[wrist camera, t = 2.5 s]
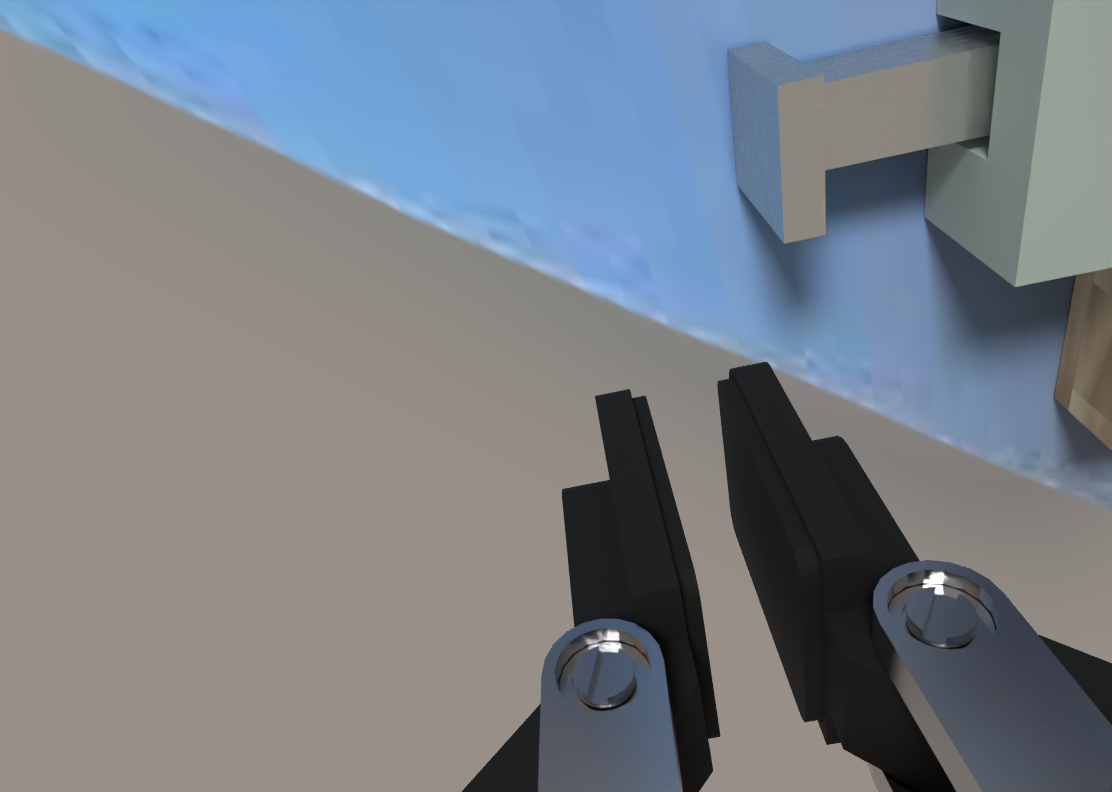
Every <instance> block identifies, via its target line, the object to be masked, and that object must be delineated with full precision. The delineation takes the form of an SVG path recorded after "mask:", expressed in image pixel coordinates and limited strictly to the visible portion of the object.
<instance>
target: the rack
mask: <svg viewBox="0 0 1112 792" xmlns="http://www.w3.org/2000/svg"><path fill="white" fill-rule="evenodd" d="M1054 398H1055V399H1056V400H1057V401H1058V402H1059V403H1060V404H1061V405H1062V406H1064V407H1065V408H1066V409H1067V410H1068V411H1069V412H1070V413H1071V414H1072V415H1073V416H1074V417H1075V418H1077V419H1078V420H1079V421H1080V422H1081V423H1082V424H1083V425H1084V426H1085V427H1086V428H1087V429H1089V430H1090V431H1091V432H1092V433H1093V434H1094V435H1095V436H1096V437H1097V438H1098V439H1099V440H1100V441H1102V442H1103V443H1104V444H1105V445H1106V446H1107V447H1108V448H1109V449H1110V450H1111V451H1112V268H1107V269H1102V270H1097V271H1093V272H1088V273H1083V274H1078V275H1076V279H1075V284H1074V290H1073V295H1072V301H1071V306H1070V312H1069V317H1068V323H1067V328H1066V334H1065V340H1064V345H1063V351H1062V356H1061V362H1060V367H1059V373H1058V378H1057V384H1056V389H1055V395H1054Z"/></svg>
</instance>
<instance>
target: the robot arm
mask: <svg viewBox="0 0 1112 792" xmlns="http://www.w3.org/2000/svg"><path fill="white" fill-rule="evenodd" d="M718 397H719V406H720V416H721V425H722V435H723V444H724V454H725V463H726V472H727V482H728V492H729V500H730V510H731V517H732V522H733V526H734V530H735V534H736V537H737V539H738V542H739V545H740V548H741V550H742V553H743V556H744V559H745V562H746V564H747V567H748V570H749V572H750V576H751V578H752V581H753V584H754V587H755V589H756V592H757V595H758V597H759V601H760V603H761V606H762V609H763V612H764V615H765V617H766V620H767V623H768V626H769V628H770V631H771V634H772V637H773V640H774V642H775V645H776V648H777V651H778V653H779V656H780V659H781V662H782V665H783V667H784V670H785V673H786V676H787V679H788V681H789V684H790V687H791V689H792V692H793V695H794V698H795V701H796V703H797V706H798V709H799V711H800V714H801V717H802V719H803V721H804V722H809V721H815V720H818V723H819V725H820V728H821V731H822V733H823V736H824V739H825V741H826V744H827V745H829V744H835V743H841V744H842V747H843V749H844V750H846V751H848V752H850V753H852V754H853V755H855V756H857V757H859V758H861V759H862V760H864V761H866V762H868V766H869V769H870V772H871V775H872V778H873V781H874V783H875V785H876V787H877V789H878V791H879V792H1112V663H1109V662H1107V661H1104V660H1102V659H1099V658H1097V657H1094V656H1091V655H1089V654H1086V653H1084V652H1081V651H1079V650H1076V649H1073V648H1071V647H1069V646H1066V645H1063V644H1061V643H1058V642H1056V641H1053V640H1051V639H1048V638H1046V637H1043V636H1040V635H1038V634H1037V633H1036V632H1035V631H1034V629H1033V628H1032V627H1031V626H1030V624H1029V623H1028V622H1027V621H1026V620H1025V618H1024V617H1023V616H1022V615H1021V614H1020V612H1019V611H1018V610H1017V609H1016V607H1015V606H1014V605H1013V604H1012V603H1011V601H1010V600H1009V599H1008V598H1007V596H1006V595H1005V594H1004V593H1003V592H1002V591H1001V590H1000V589H999V588H998V587H997V586H996V585H995V584H993V582H991V581H990V580H989V579H988V578H986V577H984V576H982V575H981V574H979V573H977V572H975V571H973V570H972V569H969V568H966V567H963V566H960V565H957V564H953V563H950V562H942V561H931V560H926V561H919V559H918V558H917V556H916V554H915V553H914V551H913V549H912V548H911V546H910V545H909V543H908V541H907V540H906V538H905V537H904V535H903V533H902V532H901V530H900V529H899V527H898V525H897V524H896V522H895V520H894V519H893V517H892V516H891V514H890V512H889V511H888V509H887V507H886V506H885V504H884V503H883V501H882V499H881V498H880V496H879V495H878V493H877V491H876V490H875V488H874V487H873V485H872V483H871V482H870V480H869V478H868V477H867V475H866V474H865V472H864V470H863V469H862V467H861V466H860V464H859V462H858V461H857V459H856V457H855V456H854V454H853V453H852V451H851V449H850V448H849V446H848V445H847V443H846V442H845V441H844V439H843V438H841V437H839V436H834V437H829V438H824V439H819V440H814V441H812V440H811V438H810V436H809V435H808V433H807V431H806V429H805V427H804V426H803V424H802V422H801V420H800V418H799V417H798V415H797V413H796V411H795V410H794V408H793V406H792V404H791V402H790V400H789V399H788V397H787V395H786V393H785V392H784V390H783V388H782V386H781V384H780V383H779V381H778V379H777V377H776V376H775V374H774V372H773V370H772V368H771V367H770V365H769V364H768V362H762V363H757V364H752V365H747V366H742V367H737V368H733V369H730V371H729V379H726V380H722V381H718ZM595 399H596V404H597V410H598V416H599V421H600V427H601V433H602V438H603V444H604V449H605V455H606V461H607V466H608V472H609V477H610V480H607V481H602V482H597V483H591V484H586V485H582V486H576V487H571V488H566V489H563V490H562V501H563V511H564V522H565V532H566V543H567V553H568V563H569V574H570V584H571V594H572V595H571V596H572V606H573V617H574V627H575V628H573V629H571V630H569V631H567V632H566V633H565V634H564V635H563V636H562V637H561V638H560V639H558V640H557V641H556V642H555V643H554V644H553V646H552V648H551V649H550V651H549V653H548V655H547V656H546V658H545V661H544V666H543V671H542V678H541V704H540V705H539V706H538V707H537V708H536V709H535V710H534V712H533V713H532V714H531V715H530V716H529V717H528V718H527V719H526V721H525V722H524V723H523V724H522V725H521V726H520V727H519V728H518V730H517V731H516V732H515V733H514V734H513V735H512V736H511V737H510V738H509V740H508V741H507V742H506V743H505V744H504V745H503V746H502V747H501V748H500V750H499V751H498V752H497V753H496V754H495V755H494V756H493V757H492V758H491V760H490V761H489V762H488V763H487V764H486V765H485V766H484V767H483V769H482V770H481V771H480V772H479V773H478V774H477V775H476V776H475V777H474V779H473V780H472V781H471V782H470V783H469V784H468V785H467V786H466V787H465V789H464V790H463V791H462V792H699V791H700V789H701V788H702V786H703V785H704V783H705V782H706V781H707V779H708V778H709V776H710V775H711V773H712V772H713V766H712V761H711V754H710V748H709V742H708V739H710V738H716V737H720V730H719V724H718V716H717V710H716V704H715V697H714V689H713V683H712V675H711V669H710V662H709V655H708V648H707V641H706V634H705V627H704V621H703V614H702V607H701V601H700V595H699V589H698V585H697V580H696V575H695V571H694V567H693V563H692V560H691V556H690V552H689V549H688V545H687V542H686V538H685V535H684V531H683V527H682V524H681V520H680V517H679V513H678V510H677V506H676V502H675V499H674V495H673V492H672V488H671V485H670V481H669V478H668V474H667V470H666V467H665V463H664V460H663V456H662V452H661V449H660V445H659V442H658V438H657V434H656V431H655V427H654V424H653V420H652V417H651V413H650V409H649V406H648V402H647V399H646V396H641V397H636V398H632V396H631V392H630V390H629V389H628V390H623V391H618V392H613V393H608V394H603V395H598V396H595Z"/></svg>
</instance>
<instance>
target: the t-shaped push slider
mask: <svg viewBox="0 0 1112 792" xmlns="http://www.w3.org/2000/svg"><path fill="white" fill-rule="evenodd" d="M1000 35H1001V32H999V31H995V30H992V29H988V28H985V27H981V26H978V25H970V26H965V27H961V28H956V29H952V30H948V31H943V32H939V33H934V34H930V35H925V36H921V37H916V38H912V39H907V40H903V41H898V42H894V43H890V44H885V45H881V46H876V47H872V48H867V49H863V50H858V51H854V52H849V53H845V54H840V55H836V56H832V57H827V58H823V59H818V60H814V61H809V62H805V63H802V62H800V61H798V60H797V59H795V58H793V57H791V56H790V55H788V54H786V53H784V52H783V51H781V50H779V49H778V48H776V47H774V46H772V45H771V44H769V43H767V42H765V41H764V42H759V43H755V44H750V45H746V46H742V47H737V48H733V49H728V50H727V57H728V70H729V83H730V97H731V110H732V123H733V136H734V149H735V163H736V176H737V185H738V186H739V187H740V189H741V190H742V191H743V192H744V194H745V195H746V196H747V198H748V199H749V200H750V201H751V203H752V204H753V205H754V206H755V208H756V209H757V210H758V211H759V213H760V214H761V215H762V216H763V218H764V219H765V220H766V221H767V223H768V224H769V225H770V227H771V228H772V229H773V230H774V232H775V233H776V234H777V235H778V237H779V238H780V239H781V240H782V242H783V243H784V244H786V243H790V242H795V241H800V240H805V239H809V238H814V237H819V236H824V235H826V196H825V170H830V169H835V168H839V167H844V166H848V165H853V164H858V163H862V162H867V161H872V160H876V159H881V158H886V157H890V156H895V155H900V154H904V153H909V152H914V151H918V150H923V149H928V148H932V147H937V146H941V145H946V144H951V143H955V142H960V141H965V140H969V139H974V138H979V137H983V136H988V135H990V132H991V122H992V112H993V103H994V93H995V83H996V74H997V64H998V54H999V45H1000Z"/></svg>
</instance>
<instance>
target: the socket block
mask: <svg viewBox="0 0 1112 792" xmlns="http://www.w3.org/2000/svg"><path fill="white" fill-rule="evenodd" d="M936 14H939V15H942V16H946V17H949V18H953V19H956V20H960V21H964V22H967V23H971V24H974V25H978V26H981V27H985V28H988V29H992V30H995V31H999V32H1001V35H1000V45H999V54H998V64H997V74H996V83H995V93H994V103H993V112H992V122H991V132H990V135H988V136H983V137H979V138H974V139H969V140H965V141H960V142H955V143H951V144H946V145H941V146H937V147H932V148H928V161H927V178H926V194H925V211H924V217H925V218H926V219H928V220H929V221H930V222H932V223H933V224H934V225H935V226H937V227H938V228H939V229H941V230H942V231H943V232H944V233H946V234H947V235H948V236H950V237H951V238H952V239H953V240H955V241H956V242H957V243H959V244H960V245H961V246H963V247H964V248H965V249H966V250H968V251H969V252H970V253H972V254H973V255H974V256H975V257H977V258H978V259H979V260H981V261H982V262H983V263H984V264H986V265H987V266H988V267H990V268H991V269H992V270H993V271H995V272H996V273H997V274H999V275H1000V276H1001V277H1002V278H1004V279H1005V280H1006V281H1008V282H1009V283H1010V284H1011V285H1013V286H1014V287H1018V286H1023V285H1028V284H1033V283H1038V282H1043V281H1048V280H1053V279H1058V278H1063V277H1068V276H1073V275H1078V274H1083V273H1088V272H1093V271H1097V270H1102V269H1107V268H1112V0H937V13H936Z"/></svg>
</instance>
